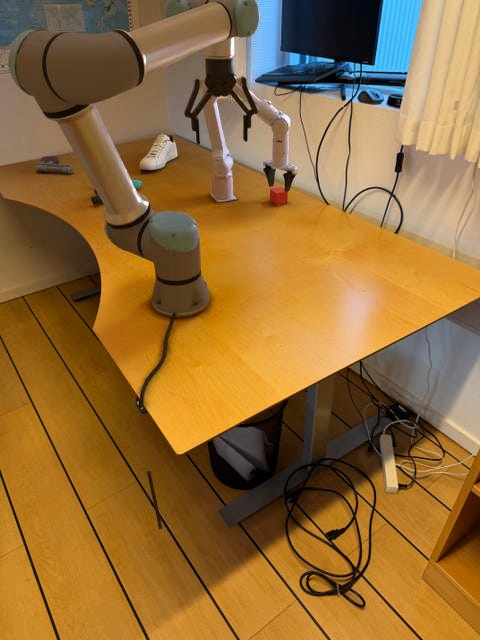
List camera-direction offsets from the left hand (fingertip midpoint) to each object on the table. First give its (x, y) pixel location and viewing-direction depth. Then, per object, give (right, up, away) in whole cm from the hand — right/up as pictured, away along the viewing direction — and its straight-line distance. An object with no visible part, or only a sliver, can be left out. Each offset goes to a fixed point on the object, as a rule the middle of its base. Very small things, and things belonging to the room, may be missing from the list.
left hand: (221, 141), depth 135 cm
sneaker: (-32, +21, +82) cm, 91 cm away
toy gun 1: (-76, +17, +79) cm, 111 cm away
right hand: (+20, -2, +42) cm, 46 cm away
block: (+20, -6, +45) cm, 49 cm away
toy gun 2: (-47, -2, +52) cm, 70 cm away
